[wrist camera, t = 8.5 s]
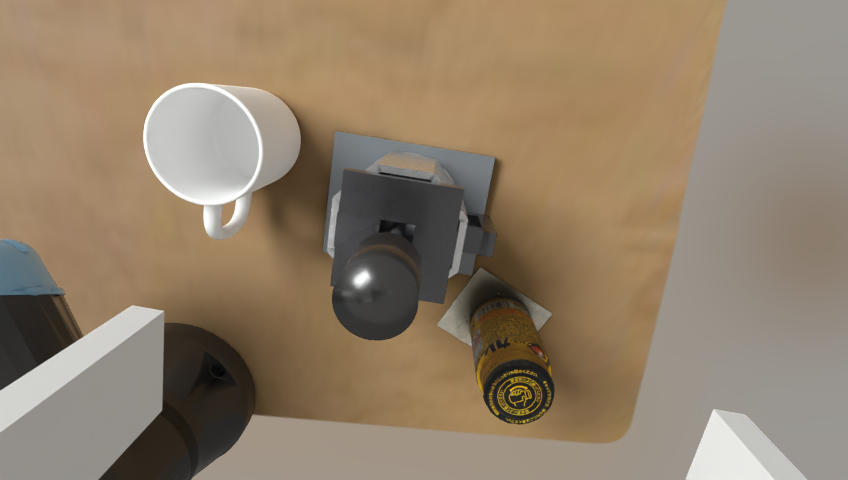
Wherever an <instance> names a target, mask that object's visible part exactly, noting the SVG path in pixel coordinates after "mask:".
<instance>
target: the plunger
mask: <svg viewBox="0 0 848 480" xmlns="http://www.w3.org/2000/svg"><path fill="white" fill-rule="evenodd" d="M386 174H387V175H394V176H400V177H406V178H412V179H418V180H424V181H431V180H428V179H421V178H415V177H409V176H403V175H397V174H391V173H386ZM431 182H432V181H431ZM414 231H415V225H412V224H406V223H400V222H393V221H387V220H381V225H380V232H379V233H376V234H372V235H370V236H368V237H366V238H365V239H364V240H362V241H361V242H360V243H359V244H358V246H357V247H356V248H355V250H354V252H353V254H352V255H351V257H350V259H349V261H348V262H347V264H346V266H345V267H344V269H343V271H342V273H341V274H340V276H339V278H338V280H337V281H336V283H335V286H334V289H333V294H332V304H333V309H334V312H335V314H336V316H337V318H338V320H339V321H340V323H341V324H342V325H343V326H344V327H345V328H346V329H347V330H348V331H349V332H351V333H352V334H354V335H356V336H358V337H361V338H364V339H368V340H386V339H390V338H393V337H395V336H397V335H399V334H401V333H402V332H403V331H405V330H406V329H407V328H408V327H409V326H410V324H411V323H412V322H413V320H414V318H415V316H416V313H417V309H418V300H419V291H420V281H421V272H422V262H421V258H420V255H419V253H418V250H417V249H416V247H415V246H414V245H413V238H414Z"/></svg>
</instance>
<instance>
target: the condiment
mask: <svg viewBox="0 0 848 480" xmlns="http://www.w3.org/2000/svg"><path fill="white" fill-rule="evenodd" d="M498 293H500V294H499V295H498ZM551 315H552V313H550V312H549V311H547V310H546V309H544V308H543V307H541V306H540V305H538V304H537V303H535V302H534V301H532V300H531V299H529V298H528V297H526V296H524V295H523V294H522V293H520V292H518V291H517V290H515V289H514V288H512V287H510V286H509V285H507V284H506V283H504V282H503V281H501V280H500V279H498V278H497V277H495V276H493V275H492V274H490V273H489V272H487V271H486V270H484V269H483V268H481V267H480V268H479V269H478V271H477V272H476V274H475V275H474V276H473V277H472V278H471V280H470V281H469V282H468V284H467V285H466V286H465V287H464V289H463V290H462V292H461V293H460V294H459V296H458V297H457V298H456V300H455V301H454V302H453V304H452V305H451V306H450V308H449V309H448V310H447V312H446V313H445V314H444V316H443V317H442V319H441V320H440V321H439V323H438V324H437V326H439V327H441V328H442V329H443V330H445V331H447V332H449V333H450V334H451V335H453V336H455V337H457V338H458V339H460V340H461V341H463V342H465V343H466V344H468V345H469V346H471V347H472V349H473V357H474V364H475V372H476V378H477V384H478V385H479V387H480V389H481V391H482V392H483V394H484V395H483V398H484V401H485V403H486V405H487V407H488V408H489V410H490V411H491V413H492V414H493V415H495V416H496V417H498V418H499V419H500V420H503V421H504V422H507V423H514V424H526V423H530V422H532V421H535V420H537V419H539V418H540V417H541V416H543V414H544V413H545V412H546V411H547V410H548V409H549V408H550V407H551V405H552V401H553V398H554V384H553V381H552V378H551V373H552V370H551V364H550V361H549V359H548V356H547V354H546V351H545V349H544V346H543V344H542V341H541V339H540V337H539V334H538V330H539V329H540V328H541V327H542V326H543V325H544V324H545V322H546V321H547V320H548V319H549V318H550V316H551ZM466 317H467V320H466ZM467 321H469V323H467Z"/></svg>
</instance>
